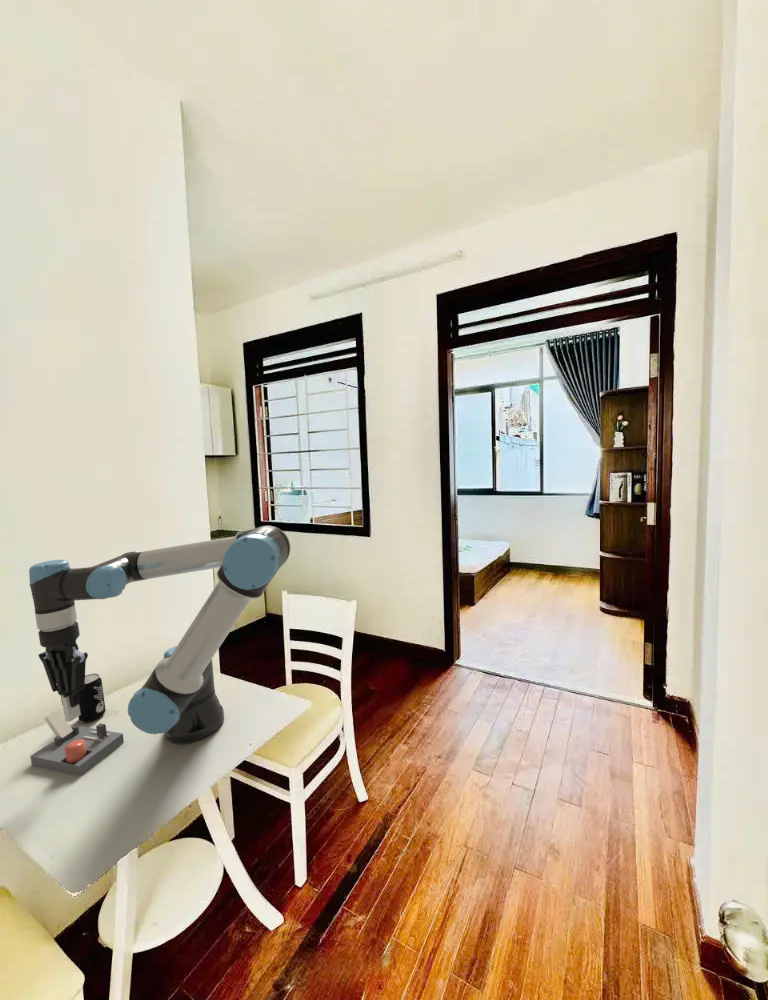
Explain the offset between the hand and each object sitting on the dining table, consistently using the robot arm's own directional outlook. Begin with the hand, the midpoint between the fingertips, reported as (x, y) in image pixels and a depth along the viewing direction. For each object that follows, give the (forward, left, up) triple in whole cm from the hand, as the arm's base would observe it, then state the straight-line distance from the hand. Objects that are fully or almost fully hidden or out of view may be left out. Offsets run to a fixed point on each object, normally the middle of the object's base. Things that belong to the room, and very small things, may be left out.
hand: (73, 717), depth 102 cm
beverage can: (+16, -16, -13) cm, 26 cm away
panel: (+5, -3, -13) cm, 14 cm away
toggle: (+10, -4, -9) cm, 14 cm away
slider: (+1, -7, -10) cm, 12 cm away
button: (+1, 0, -11) cm, 11 cm away
